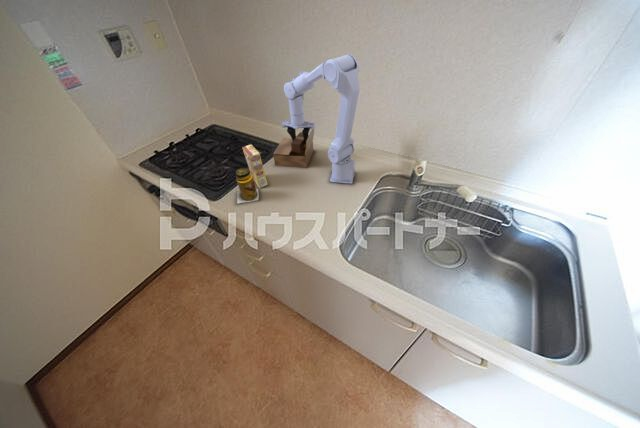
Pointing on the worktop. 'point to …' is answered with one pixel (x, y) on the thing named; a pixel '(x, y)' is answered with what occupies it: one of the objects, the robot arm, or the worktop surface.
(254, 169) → the candy box
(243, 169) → the condiment
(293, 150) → the chocolate bar
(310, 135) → the bin flap
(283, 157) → the brown wooden square box
